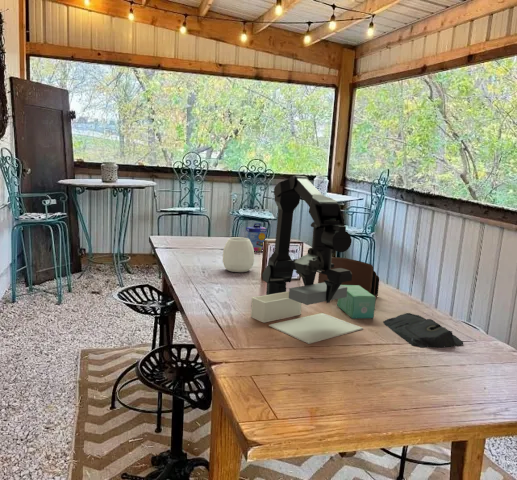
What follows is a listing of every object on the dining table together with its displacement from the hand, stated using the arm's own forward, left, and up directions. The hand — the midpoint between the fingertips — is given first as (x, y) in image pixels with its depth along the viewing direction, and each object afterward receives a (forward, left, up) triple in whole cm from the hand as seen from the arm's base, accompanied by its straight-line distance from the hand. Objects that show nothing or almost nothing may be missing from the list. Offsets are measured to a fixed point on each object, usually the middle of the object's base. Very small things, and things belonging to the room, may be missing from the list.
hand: (318, 299), depth 142 cm
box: (-4, +22, -9) cm, 24 cm away
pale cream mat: (0, 0, -8) cm, 8 cm away
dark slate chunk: (+19, +23, -9) cm, 31 cm away
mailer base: (-14, -3, -8) cm, 17 cm away
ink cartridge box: (-100, +58, -9) cm, 116 cm away
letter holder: (-20, +36, -9) cm, 42 cm away
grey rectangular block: (0, 0, 0) cm, 1 cm away
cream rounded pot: (-68, +23, -9) cm, 72 cm away
